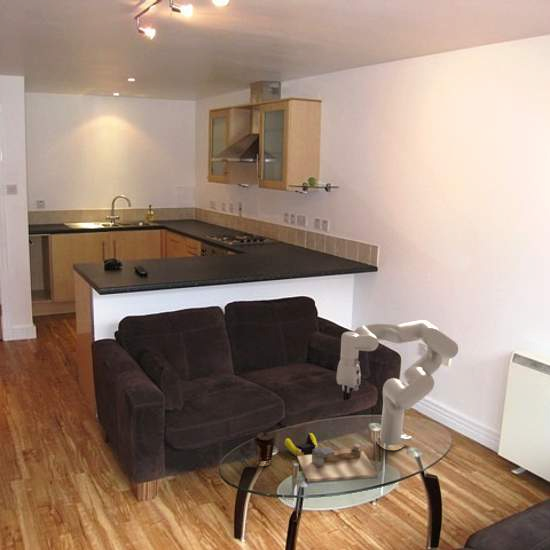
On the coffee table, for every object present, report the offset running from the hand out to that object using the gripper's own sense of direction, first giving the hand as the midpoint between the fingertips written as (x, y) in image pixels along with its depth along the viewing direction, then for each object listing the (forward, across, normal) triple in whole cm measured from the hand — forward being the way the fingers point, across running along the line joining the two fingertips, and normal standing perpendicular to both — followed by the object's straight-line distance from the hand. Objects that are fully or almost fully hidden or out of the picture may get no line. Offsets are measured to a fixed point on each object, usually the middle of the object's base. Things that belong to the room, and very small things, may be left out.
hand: (346, 399), depth 266 cm
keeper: (+23, -2, +18) cm, 29 cm away
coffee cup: (+24, +16, +35) cm, 45 cm away
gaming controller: (+24, +12, +15) cm, 31 cm away
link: (+23, -5, +9) cm, 25 cm away
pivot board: (+24, -7, +14) cm, 29 cm away
